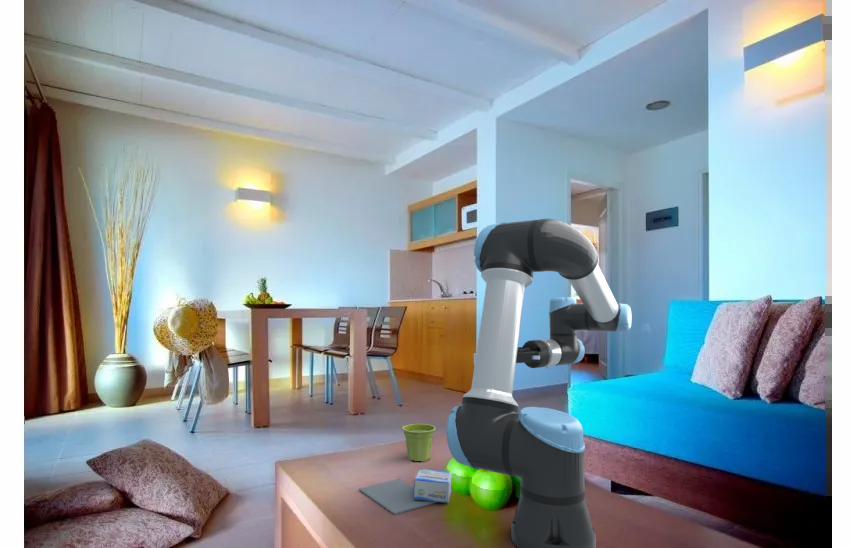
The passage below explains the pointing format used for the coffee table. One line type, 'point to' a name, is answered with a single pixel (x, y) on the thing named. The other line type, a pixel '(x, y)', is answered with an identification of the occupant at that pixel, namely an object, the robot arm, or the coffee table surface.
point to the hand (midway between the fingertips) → (475, 359)
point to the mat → (395, 496)
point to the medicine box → (432, 485)
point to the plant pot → (418, 441)
